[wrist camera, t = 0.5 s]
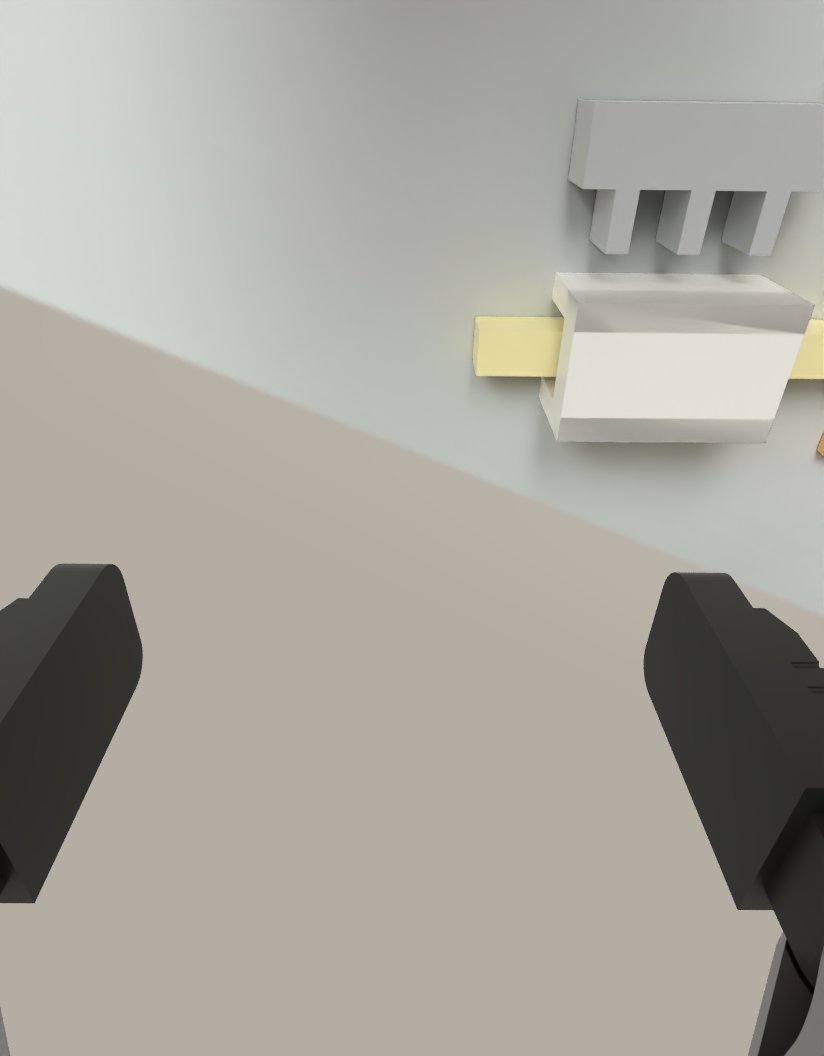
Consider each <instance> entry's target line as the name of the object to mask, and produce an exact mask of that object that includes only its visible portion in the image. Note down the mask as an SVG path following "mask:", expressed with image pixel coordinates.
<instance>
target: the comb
mask: <svg viewBox="0 0 824 1056" xmlns="http://www.w3.org/2000/svg"><path fill="white" fill-rule="evenodd" d="M568 180H569V181H571V182H572V183H574V184H575V185H577V186H579V187H580V188H582V189H597V193H596V199H595V206H594V212H593V219H592V225H591V231H590V238H589V240H590V241H591V242H592V243H593V244H594V245H595V246H597V247H598V248H599V249H600V250H601V251H602V252H603V253H604V254H628V252H629V247H630V241H631V236H632V231H633V226H634V220H635V215H636V210H637V205H638V199H639V194H640V190H666V191H665V196H664V201H663V206H662V210H661V215H660V220H659V225H658V230H657V234H656V239H655V241H657V242H658V243H660V244H661V245H663V246H664V247H666V248H667V249H669V250H670V251H672V252H673V253H675V254H676V255H700V252H701V248H702V244H703V240H704V236H705V232H706V228H707V224H708V220H709V216H710V212H711V208H712V204H713V200H714V196H715V192H716V191H734V194H733V198H732V202H731V205H730V209H729V213H728V217H727V221H726V224H725V228H724V232H723V236H722V240H721V242H723V243H725V244H727V245H729V246H731V247H733V248H735V249H737V250H739V251H740V252H742V253H744V254H746V255H748V256H771V255H772V252H773V249H774V246H775V242H776V239H777V236H778V233H779V229H780V226H781V223H782V220H783V216H784V213H785V210H786V207H787V203H788V200H789V197H790V194H791V192H824V104H823V103H781V102H708V101H635V100H578V107H577V115H576V123H575V130H574V138H573V145H572V153H571V161H570V168H569V176H568Z"/></svg>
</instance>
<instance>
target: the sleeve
mask: <svg viewBox="0 0 824 1056" xmlns="http://www.w3.org/2000/svg"><path fill="white" fill-rule="evenodd" d="M552 300H553V301H554V303H555V304H556V306H557V307H558V309H559V310H560V312H561V313H562V315H563V316H564V318H565V320H564V326H563V333H562V340H561V347H560V354H559V361H558V368H557V375H556V377H542V379H541V386H540V394H539V399H540V402H541V404H542V406H543V409H544V411H545V414H546V416H547V419H548V421H549V424H550V426H551V428H552V431H553V433H554V436H555V438H556V441H557V442H656V443H766V440H767V437H768V435H769V432H770V429H771V426H772V423H773V421H774V418H775V415H776V412H777V410H778V407H779V404H780V401H781V398H782V396H783V393H784V390H785V387H786V384H787V382H788V379H789V376H790V373H791V371H792V368H793V365H794V362H795V359H796V357H797V354H798V351H799V348H800V346H801V343H802V340H803V337H804V334H805V332H806V329H807V326H808V323H809V321H810V318H811V315H812V312H813V309H814V307H815V305H814V304H812V303H810V302H808V301H807V300H805V299H803V298H801V297H799V296H798V295H796V294H794V293H792V292H790V291H789V290H787V289H785V288H783V287H781V286H780V285H778V284H776V283H774V282H772V281H771V280H769V279H767V278H765V277H764V276H762V275H740V274H647V273H555V280H554V287H553V295H552Z"/></svg>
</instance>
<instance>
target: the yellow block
mask: <svg viewBox="0 0 824 1056" xmlns="http://www.w3.org/2000/svg"><path fill="white" fill-rule="evenodd" d="M564 320H565V318H564V317H499V316H475V330H474V345H473V364H474V368H475V373H476V376H539V377H556V375H557V368H558V361H559V354H560V347H561V340H562V333H563V326H564ZM789 379H824V320H810V321H809V323H808V326H807V329H806V332H805V334H804V337H803V340H802V343H801V346H800V348H799V351H798V354H797V357H796V359H795V362H794V365H793V368H792V371H791V373H790V376H789Z"/></svg>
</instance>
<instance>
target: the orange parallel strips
mask: <svg viewBox="0 0 824 1056" xmlns="http://www.w3.org/2000/svg"><path fill="white" fill-rule="evenodd" d="M817 451H818V452H820V453H821V454H822V455H823V456H824V434H823V436H822V439H821V441H820V443H819V446H818V448H817Z"/></svg>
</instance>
